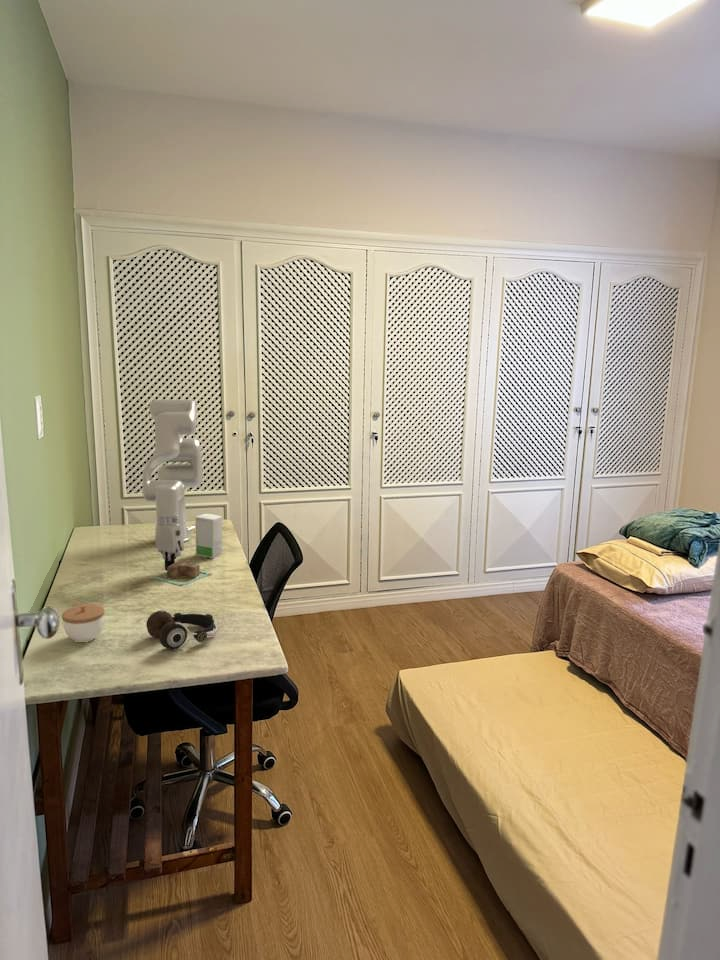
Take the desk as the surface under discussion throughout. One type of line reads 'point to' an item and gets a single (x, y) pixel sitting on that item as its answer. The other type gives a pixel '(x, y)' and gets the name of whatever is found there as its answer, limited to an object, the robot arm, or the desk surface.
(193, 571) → the tee block
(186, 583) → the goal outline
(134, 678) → the desk surface
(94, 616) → the lidded jar
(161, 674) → the desk surface
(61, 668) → the desk surface
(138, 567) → the desk surface
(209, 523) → the skincare box
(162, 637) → the headset
